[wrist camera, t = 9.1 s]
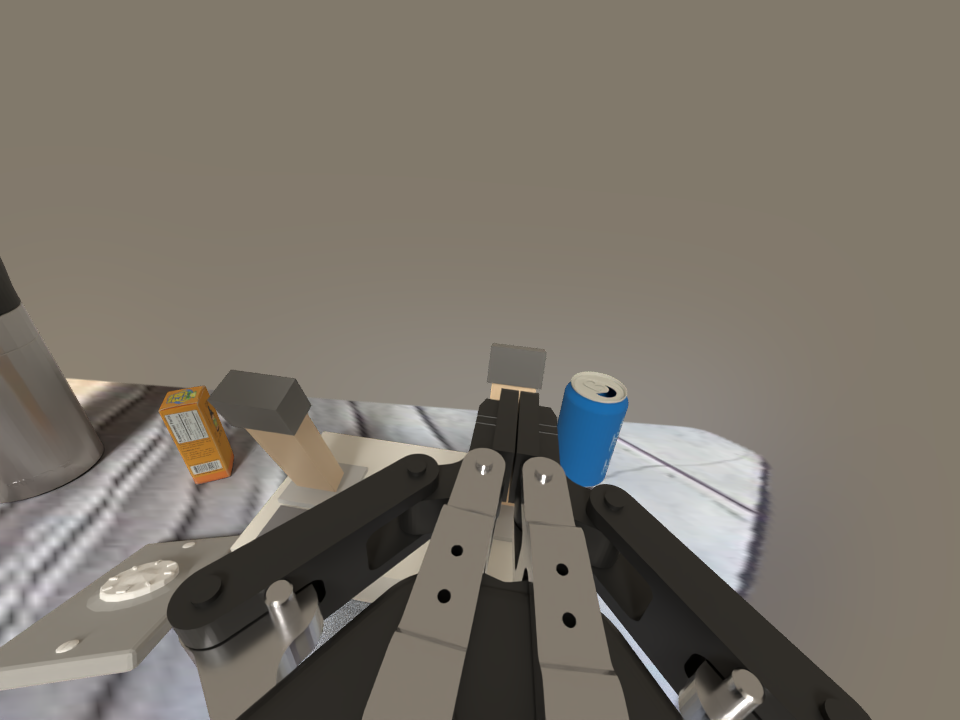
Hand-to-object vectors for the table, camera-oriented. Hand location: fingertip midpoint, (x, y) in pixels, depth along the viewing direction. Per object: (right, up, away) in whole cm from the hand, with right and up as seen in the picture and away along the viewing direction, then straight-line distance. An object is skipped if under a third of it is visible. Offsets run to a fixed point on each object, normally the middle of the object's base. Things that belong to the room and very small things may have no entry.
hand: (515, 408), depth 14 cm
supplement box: (-30, -10, +25) cm, 40 cm away
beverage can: (+10, -11, +29) cm, 32 cm away
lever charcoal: (-16, -9, +18) cm, 25 cm away
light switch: (-25, -18, +12) cm, 33 cm away
